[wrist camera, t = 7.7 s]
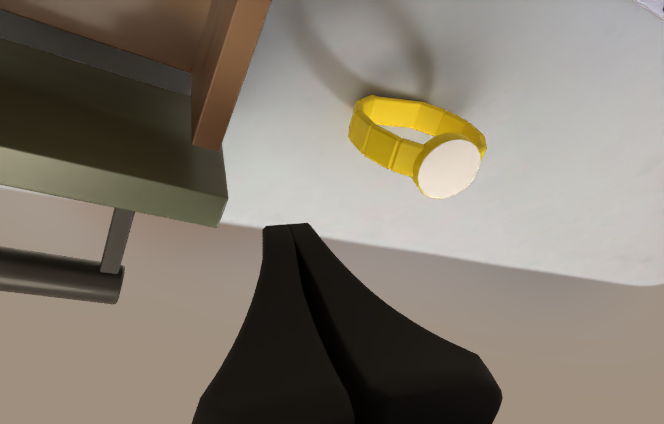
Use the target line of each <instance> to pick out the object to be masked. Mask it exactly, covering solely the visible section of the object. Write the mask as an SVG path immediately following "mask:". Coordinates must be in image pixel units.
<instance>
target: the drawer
mask: <svg viewBox="0 0 664 424" xmlns="http://www.w3.org/2000/svg"><path fill="white" fill-rule="evenodd" d="M271 1H272V0H0V9H1V10H4V11H7V12H10V13H13V14H16V15H19V16H22V17H25V18H28V19H31V20H34V21H37V22H40V23H43V24H46V25H49V26H52V27H55V28H58V29H61V30H64V31H67V32H70V33H73V34H76V35H79V36H82V37H85V38H88V39H91V40H94V41H97V42H100V43H103V44H106V45H109V46H112V47H115V48H118V49H121V50H124V51H127V52H130V53H133V54H136V55H139V56H142V57H145V58H148V59H151V60H154V61H157V62H160V63H163V64H166V65H169V66H172V67H175V68H178V69H181V70H184V71H187V72H190V73H191V97H190V96H187V95H184V94H181V93H177V92H174V91H171V90H168V89H165V88H161V87H158V86H155V85H152V84H149V83H145V82H142V81H139V80H136V79H133V78H129V77H126V76H123V75H120V74H116V73H113V72H110V71H107V70H104V69H100V68H97V67H94V66H91V65H88V64H84V63H81V62H78V61H75V60H72V59H68V58H65V57H62V56H59V55H56V54H52V53H49V52H46V51H43V50H39V49H36V48H33V47H30V46H27V45H23V44H20V43H17V42H14V41H11V40H7V39H4V38H1V37H0V185H5V186H10V187H15V188H20V189H25V190H30V191H35V192H40V193H45V194H50V195H55V196H60V197H65V198H70V199H74V200H79V201H84V202H89V203H94V204H99V205H104V206H110V207H114V208H115V209H114V212H113V216H112V220H111V224H110V228H109V233H108V237H107V241H106V245H105V249H104V253H103V257H102V261H101V262H97V261H91V260H85V259H78V258H72V257H66V256H59V255H53V254H46V253H40V252H33V251H27V250H20V249H13V248H6V247H0V291H7V292H15V293H24V294H32V295H41V296H49V297H57V298H66V299H74V300H82V301H90V302H98V303H108V304H116V303H117V301H118V298H119V294H120V290H121V286H122V282H123V277H124V270H125V267H124V266H123V265H121V261H122V257H123V254H124V250H125V246H126V243H127V239H128V235H129V232H130V228H131V224H132V220H133V217H134V213H135V212H140V213H144V214H149V215H154V216H159V217H165V218H169V219H175V220H180V221H184V222H189V223H195V224H200V225H204V226H209V227H214V228H217V227H218V225H219V222H220V220H221V217H222V214H223V212H224V209H225V206H226V204H227V201H228V191H227V183H226V174H225V166H224V158H223V149H222V141H223V138H224V136H225V133H226V130H227V127H228V124H229V121H230V118H231V115H232V113H233V110H234V107H235V104H236V101H237V98H238V95H239V93H240V90H241V87H242V84H243V81H244V78H245V75H246V73H247V70H248V67H249V64H250V61H251V58H252V55H253V52H254V50H255V47H256V44H257V41H258V38H259V35H260V32H261V30H262V27H263V24H264V21H265V18H266V15H267V12H268V9H269V7H270V4H271Z"/></svg>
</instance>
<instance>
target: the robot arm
mask: <svg viewBox="0 0 664 424" xmlns="http://www.w3.org/2000/svg"><path fill="white" fill-rule="evenodd" d="M632 1H634V2H635V3H637V4H639V5H640V6H642V7H643V8H645V9H646V10H648V11H649V12H651V13H652V14H654V15H656V16H657V17H659V18H660V19H662V20H663V21H664V8H663V7H664V0H632ZM501 402H502V393H501V389H500V388H499V386H498V384H497V383H496V381H495V379H494V378H493V376H492V374H491V373H490V371H489V370H488V368H487V367H486V365H485V364H484V363H483V361H482V360H481V359H480V357H479V356H478V355H477V354H475V353H473V352H470V351H468V350H466V349H464V348H462V347H460V346H457V345H455V344H453V343H451V342H449V341H447V340H445V339H443V338H441V337H439V336H437V335H435V334H433V333H431V332H430V331H428V330H426V329H424V328H423V327H421V326H419V325H417V324H416V323H414V322H413V321H411V320H410V319H408V318H407V317H405V316H404V315H402V314H401V313H399V312H397V311H396V310H395V309H393V308H392V307H391V306H389V305H387V304H386V303H385V302H384V301H383V300H381V299H380V298H379V297H378V296H376V295H375V294H374V293H373V292H371V291H370V290H369V289H368V288H367V287H366V286H365V285H364V284H363V283H362V282H361V281H360V280H358V279H357V278H356V277H355V276H354V275H353V274H352V273H351V272H350V271H349V270H348V269H347V268H346V267H345V266H344V264H343V263H342V262H341V261H340V260H339V259H338V258H337V257H336V256H335V255H334V254H333V253H332V251H331V250H330V249H329V248H328V247H327V245H326V244H325V243H324V242H323V241H322V239H321V238H320V237H319V236H318V234H317V233H316V232H315V230H314V229H313V228H312V227H311V225H309V224H308V223H301V224H287V225H274V226H266V227H265V228H264V229H263V260H262V265H261V270H260V276H259V279H258V282H257V286H256V289H255V293H254V297H253V299H252V302H251V305H250V308H249V310H248V313H247V316H246V318H245V321H244V323H243V325H242V327H241V329H240V332H239V334H238V336H237V338H236V340H235V342H234V344H233V346H232V348H231V350H230V352H229V353H228V355H227V357H226V359H225V360H224V362H223V364H222V366H221V368H220V369H219V371H218V372H217V374H216V376H215V377H214V379H213V380H212V382H211V383H210V385H209V386H208V388H207V389H206V390H205V392H204V394H203V395H202V396H201V398H200V401H199V404H198V407H197V409H196V412H195V415H194V418H193V421H192V424H492V423H493V421H494V419H495V417H496V415H497V413H498V411H499V408H500V405H501Z"/></svg>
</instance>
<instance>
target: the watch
mask: <svg viewBox="0 0 664 424" xmlns="http://www.w3.org/2000/svg"><path fill="white" fill-rule="evenodd" d="M378 125H386V126H397V127H408V128H413V129H416V130H418V131H421V132H424V133H427V134H429V135H432V136H435V137H434V138H432V139H431V140H429V141H428V142H426V143H425V144H424V145H423V144H420V143H416V142H413V141H410V140H407V139H404V138H402V139H401V137H399V136H397V135H395V134H393V133H391V132H389V131H388V130H386V129H384V128H382V127H380V126H378ZM348 137H349V139H350V141H351V142H352V143H353V144H354V145H355V146H356V148H357V149H358V150H359V151H360V152H361V153H362V154H364V155H365V156H366V157H367V158H369V159H371V160H373V161H374V162H376V163H378V164H380V165H381V166H383V167H385V168H387V169H390V168H391V170H392V171H394V172H397V173H400V174H403V175H407V176H410V177H412V179H413V181H414V182H415V184H416V186H417V187H418V188H419V190H420V191H421V192H422V193H423V194H425V195H426V196H428V197H430V198H435V199H443V198H448V197H451V196H454V195H456V194H458V193H459V192H461V191H462V190H464V189H465V188H466V187H467V186H468V185H469V184H470V183H471V182H472V181H473V180H474V178H475V176H476V175H477V173H478V170H479V167H480V162H481V160H482V158H483V155H484V153H485V151H486V149H487V146H486V141H485V137H484V136H483V134H482V133H481V132H480V131H479V130H478V129H476V128H475V127H474V126H473V125H472V124H471V123H468V121H466V120H464V119H462V118H460V117H459V116H457V115H455V114H453V113H451V112H449V111H445V109H442V108H439V107H436V106H434V105H431V104H428V103H425V102H422V101H421V102H420V101H411V100H403V99H394V98H386V97H378V96H375V95H370V96H368V97H365V98H362V99H360V100H358V101H357V102H356V104H355V107H354V111H353V115H352V118H351V122H350V126H349V135H348Z"/></svg>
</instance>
